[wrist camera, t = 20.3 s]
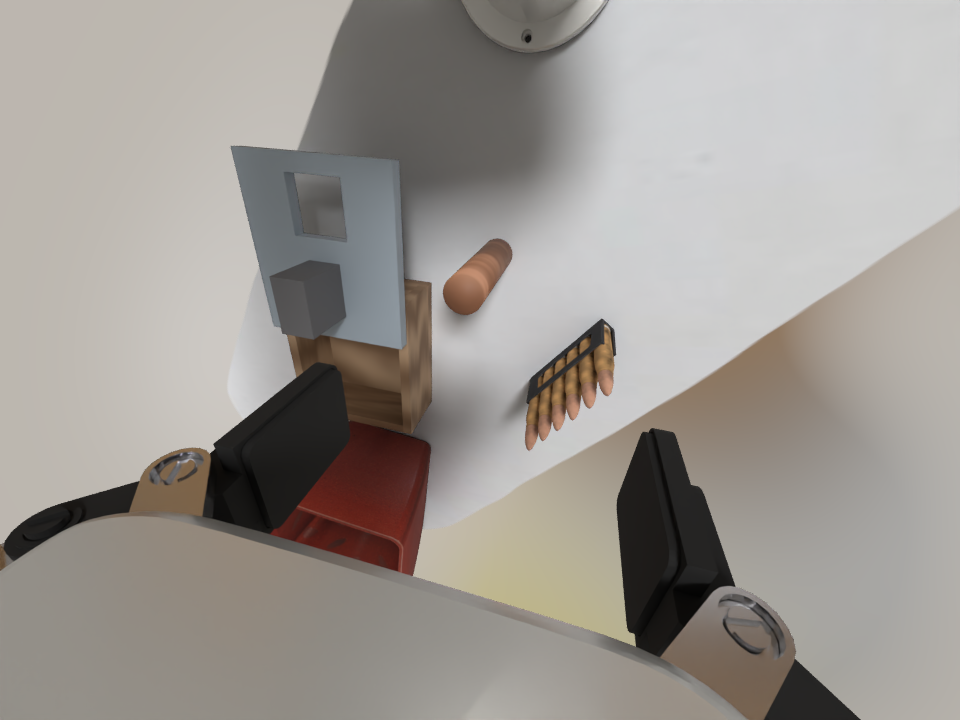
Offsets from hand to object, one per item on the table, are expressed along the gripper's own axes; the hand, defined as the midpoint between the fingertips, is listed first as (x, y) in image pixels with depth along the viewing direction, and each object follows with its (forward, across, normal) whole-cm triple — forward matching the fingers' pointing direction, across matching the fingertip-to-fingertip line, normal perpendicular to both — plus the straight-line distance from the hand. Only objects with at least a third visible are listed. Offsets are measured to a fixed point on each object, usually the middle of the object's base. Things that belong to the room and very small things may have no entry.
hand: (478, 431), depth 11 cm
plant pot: (+29, +19, +35) cm, 49 cm away
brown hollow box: (+28, +19, +14) cm, 37 cm away
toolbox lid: (+21, +19, +2) cm, 29 cm away
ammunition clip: (+29, -4, +12) cm, 31 cm away
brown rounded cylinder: (+28, +5, +2) cm, 29 cm away
